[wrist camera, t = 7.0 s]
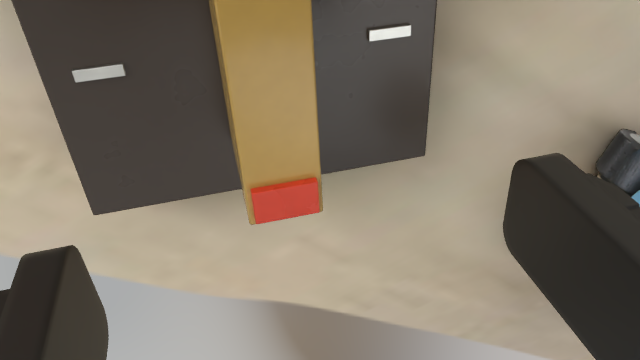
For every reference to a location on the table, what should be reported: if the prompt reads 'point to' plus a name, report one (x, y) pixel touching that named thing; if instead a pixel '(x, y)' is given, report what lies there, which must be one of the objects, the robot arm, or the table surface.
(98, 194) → the lock plate
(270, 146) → the lock knob
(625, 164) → the toy excavator
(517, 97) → the table surface
